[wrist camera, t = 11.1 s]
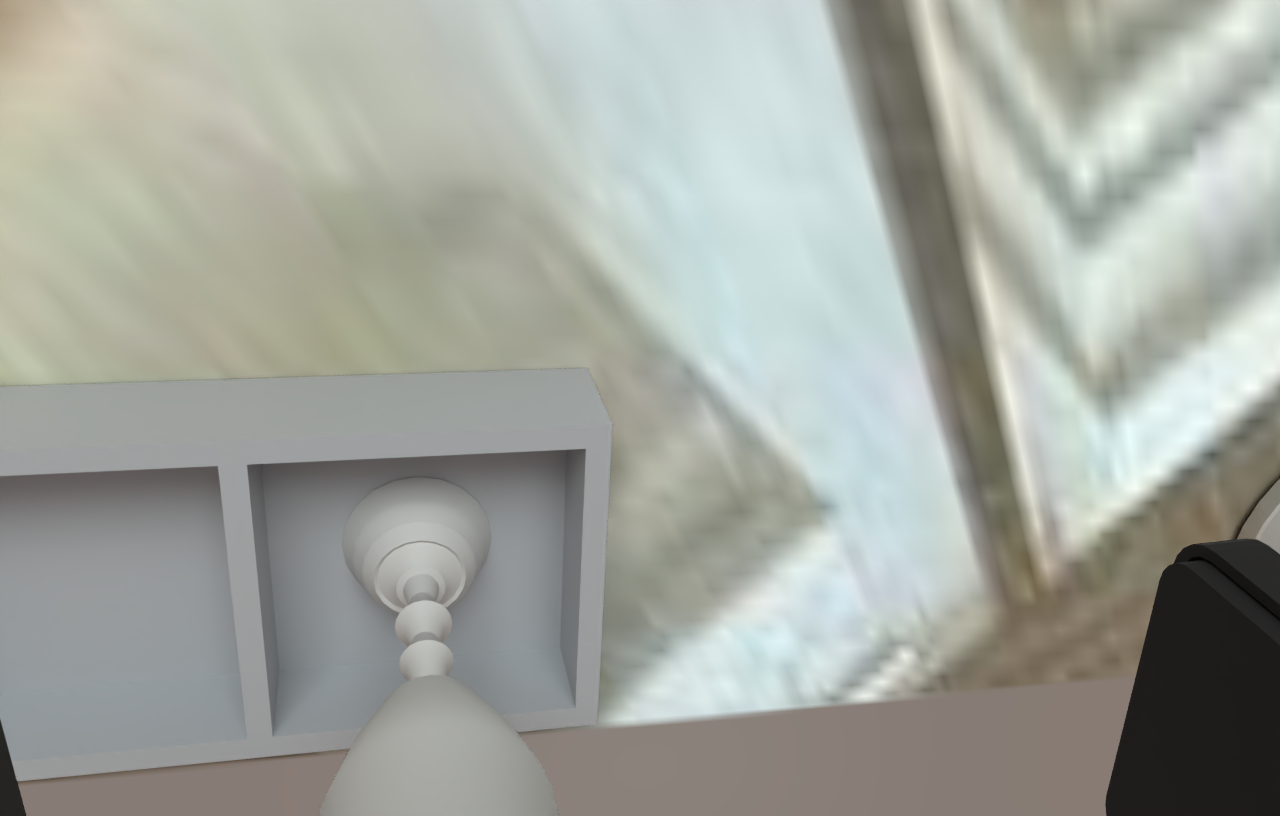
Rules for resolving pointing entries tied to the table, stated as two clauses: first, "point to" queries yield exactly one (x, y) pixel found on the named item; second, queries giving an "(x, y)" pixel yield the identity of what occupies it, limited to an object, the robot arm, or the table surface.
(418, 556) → the chalice
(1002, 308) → the table surface
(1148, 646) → the robot arm
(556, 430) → the holder
